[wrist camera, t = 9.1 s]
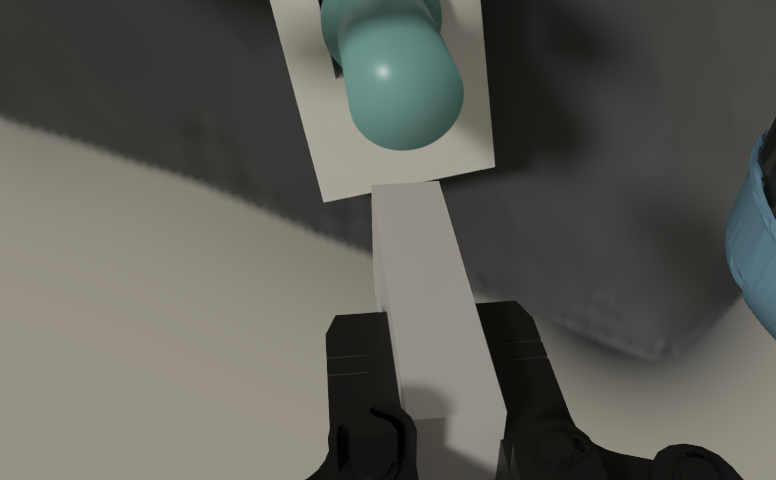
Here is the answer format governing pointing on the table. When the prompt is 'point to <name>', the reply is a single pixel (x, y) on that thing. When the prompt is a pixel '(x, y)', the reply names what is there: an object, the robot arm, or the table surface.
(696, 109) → the table surface
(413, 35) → the plug
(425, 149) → the grey block with rod
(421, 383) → the robot arm
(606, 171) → the table surface
